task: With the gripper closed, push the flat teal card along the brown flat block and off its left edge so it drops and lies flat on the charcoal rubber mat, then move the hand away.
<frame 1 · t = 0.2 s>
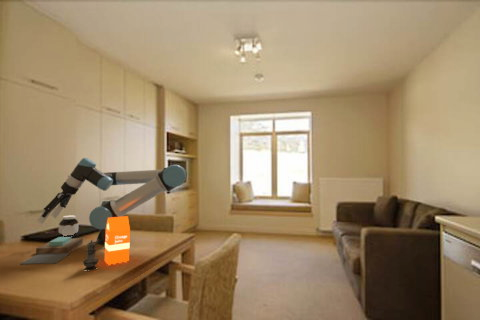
hand: (46, 219, 141), 15 cm above the table, tool tilted 35°, fingers open, 13 cm apart
black chess piece: (90, 269, 114), on the table
mat: (46, 258, 125), on the table
brown flat block: (60, 248, 141), on the table
card: (60, 241, 141), point 4 cm above the table, touching brown flat block
orange juice: (116, 261, 124), on the table
spread jar: (68, 236, 168), on the table
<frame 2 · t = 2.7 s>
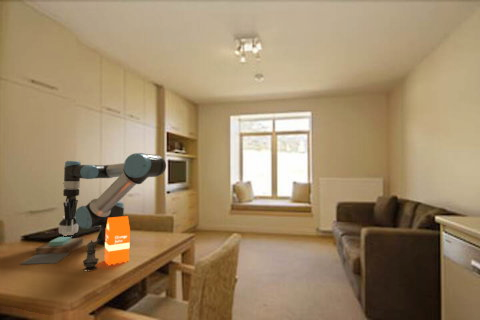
hand: (69, 231, 151), 7 cm above the table, tool pointing down, fingers closed
nothing on the table moved.
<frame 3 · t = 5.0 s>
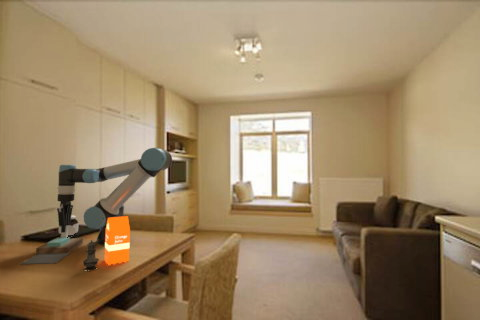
hand: (64, 238, 145), 5 cm above the table, tool pointing down, fingers closed
card: (59, 241, 139), point 4 cm above the table, touching gripper
everything else where it was.
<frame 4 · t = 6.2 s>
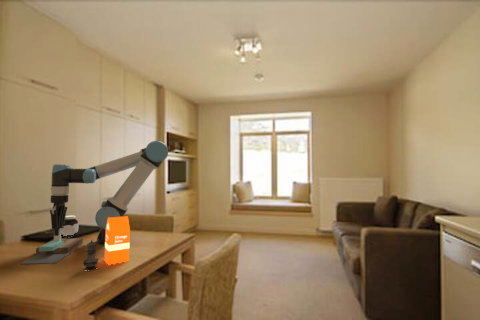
hand: (57, 241, 138), 5 cm above the table, tool pointing down, fingers closed
card: (51, 245, 132), point 4 cm above the table, touching gripper
everything else where it was.
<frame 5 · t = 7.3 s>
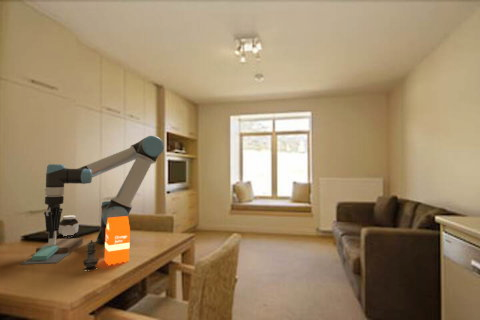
hand: (52, 244, 132), 5 cm above the table, tool pointing down, fingers closed
card: (45, 252, 127), point 2 cm above the table, tilted 11°
everything else where it was.
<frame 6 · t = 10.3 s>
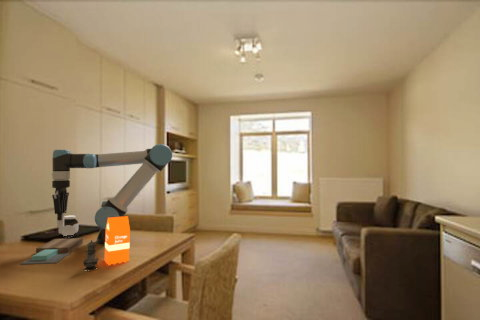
hand: (60, 226, 139), 12 cm above the table, tool pointing down, fingers closed
card: (45, 254, 127), point 1 cm above the table, touching mat
everything else where it was.
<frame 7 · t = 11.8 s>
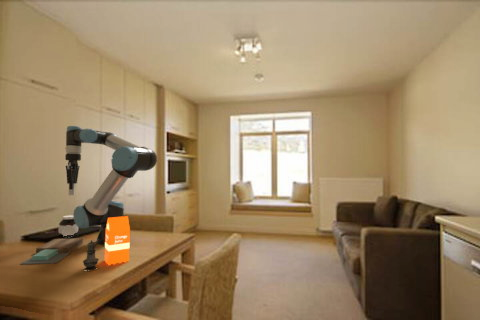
hand: (71, 195, 155), 26 cm above the table, tool pointing down, fingers closed
nothing on the table moved.
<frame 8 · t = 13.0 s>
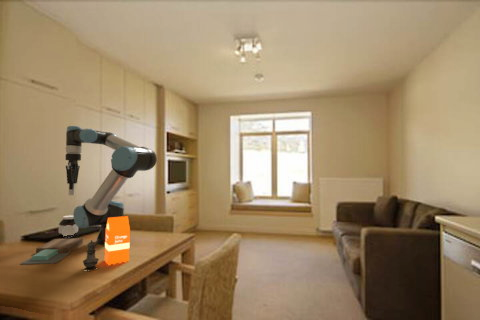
hand: (71, 195, 155), 26 cm above the table, tool pointing down, fingers closed
nothing on the table moved.
at the end: card inside the target area (2.1 cm from its centre), point 1.4 cm above the table; card touching mat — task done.
